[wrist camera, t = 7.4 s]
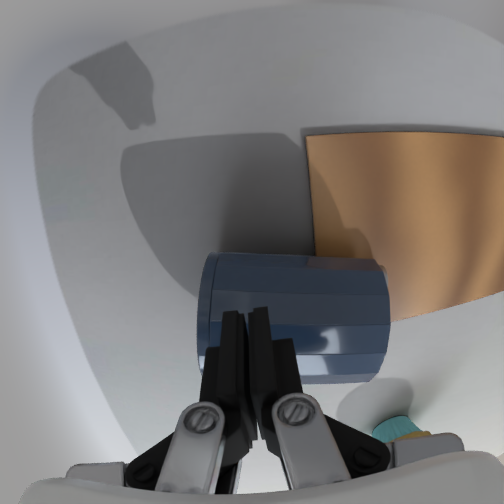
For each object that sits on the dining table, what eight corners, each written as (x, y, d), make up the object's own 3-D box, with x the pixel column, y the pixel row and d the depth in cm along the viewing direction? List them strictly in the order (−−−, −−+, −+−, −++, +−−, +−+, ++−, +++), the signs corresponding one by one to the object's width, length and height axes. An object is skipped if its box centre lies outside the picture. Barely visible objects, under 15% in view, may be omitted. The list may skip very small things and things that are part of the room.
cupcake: (416, 395, 26) (455, 483, 15) (426, 422, 29) (456, 494, 18) (346, 430, 28) (369, 522, 17) (367, 451, 31) (387, 526, 20)
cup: (197, 402, 13) (376, 403, 13) (197, 254, 13) (397, 262, 13) (217, 352, 21) (343, 355, 20) (219, 249, 20) (352, 255, 20)
